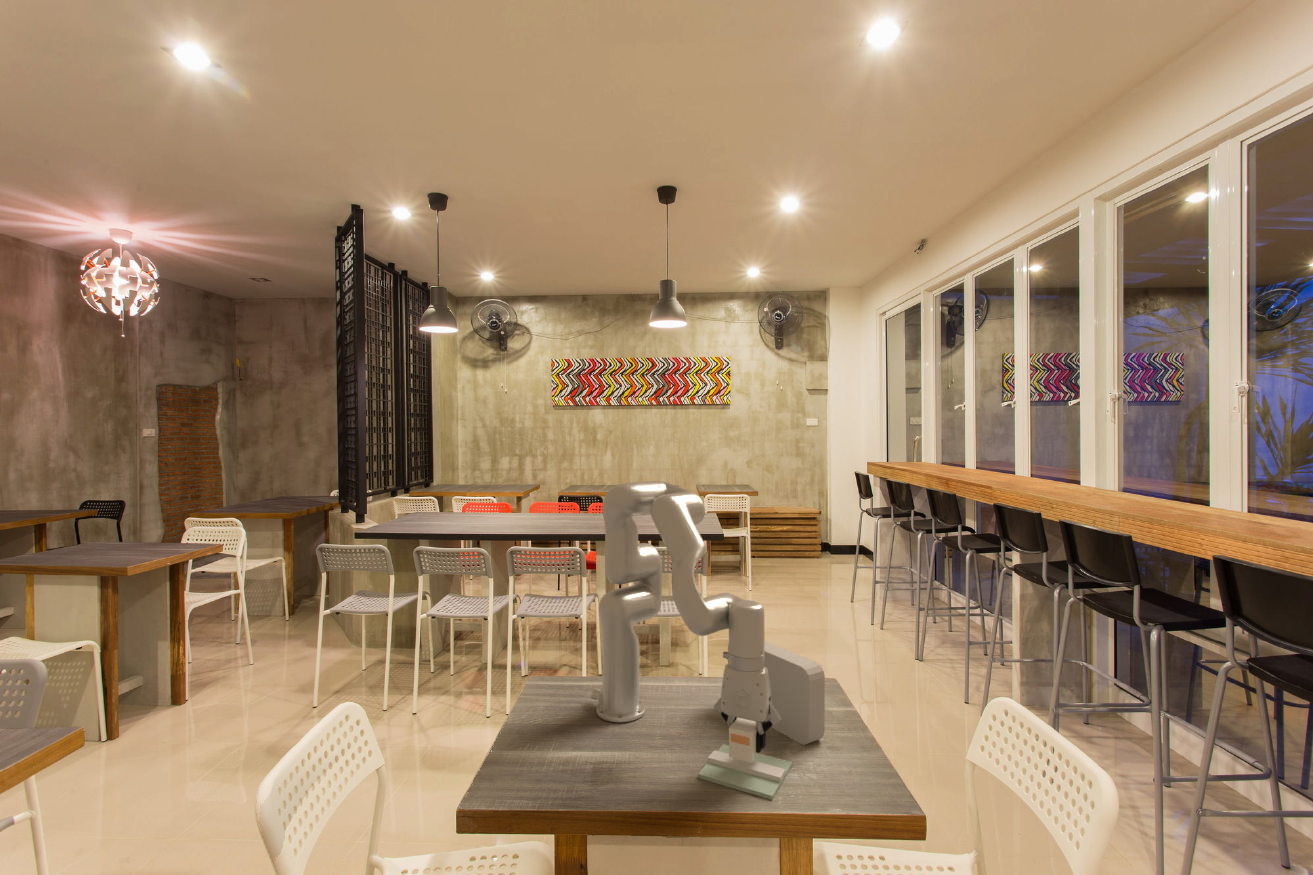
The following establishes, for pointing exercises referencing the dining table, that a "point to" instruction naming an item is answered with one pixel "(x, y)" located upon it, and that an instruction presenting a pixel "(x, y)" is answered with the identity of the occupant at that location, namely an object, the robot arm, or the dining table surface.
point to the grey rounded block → (796, 694)
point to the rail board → (746, 772)
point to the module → (743, 740)
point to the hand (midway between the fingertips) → (747, 746)
